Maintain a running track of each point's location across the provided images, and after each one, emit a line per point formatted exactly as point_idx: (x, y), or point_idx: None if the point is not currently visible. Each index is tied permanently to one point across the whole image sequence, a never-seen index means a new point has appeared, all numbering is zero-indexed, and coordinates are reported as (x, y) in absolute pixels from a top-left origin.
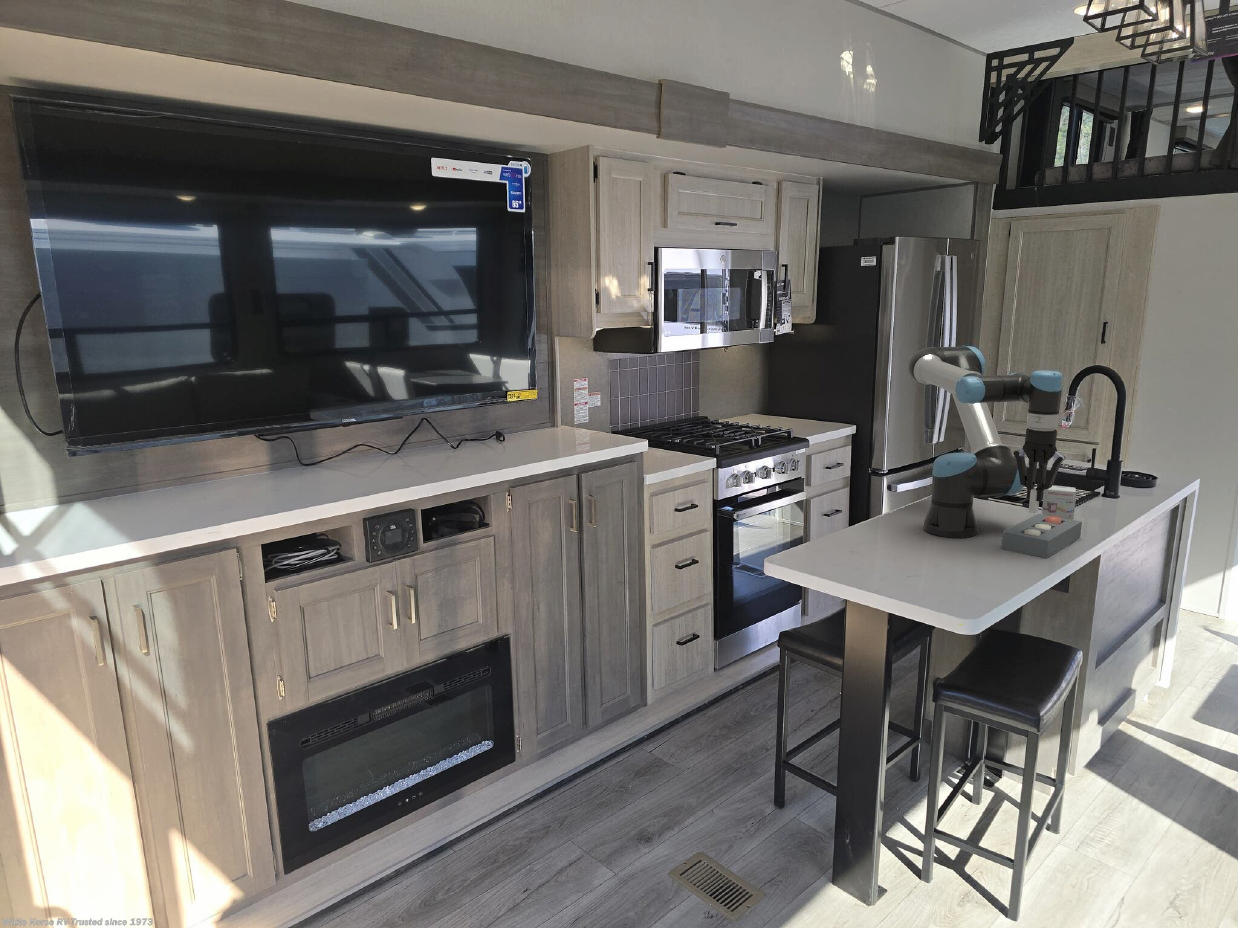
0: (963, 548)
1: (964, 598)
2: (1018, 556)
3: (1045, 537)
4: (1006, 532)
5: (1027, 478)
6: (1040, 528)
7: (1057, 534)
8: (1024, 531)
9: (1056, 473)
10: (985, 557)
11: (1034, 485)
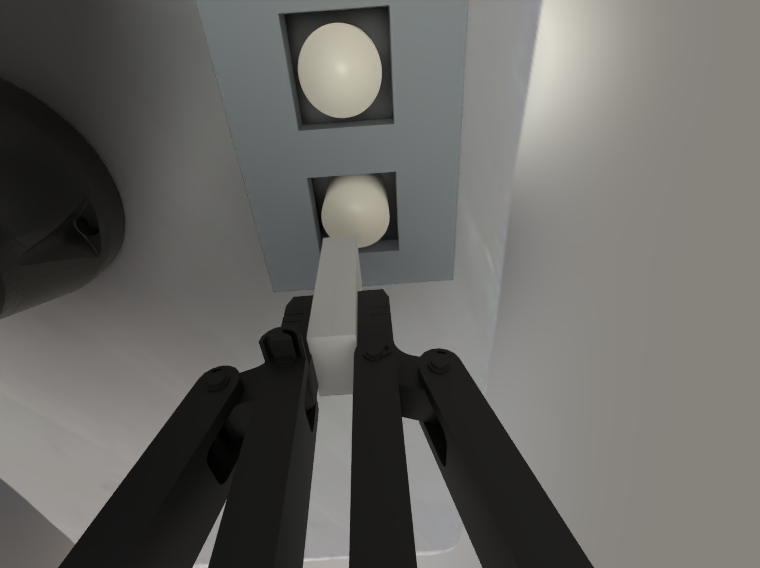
0: (216, 328)
1: (412, 515)
2: None
3: (428, 249)
4: (288, 290)
5: (221, 417)
6: (346, 116)
7: (452, 169)
8: (326, 230)
9: (546, 511)
10: None
11: (307, 364)
